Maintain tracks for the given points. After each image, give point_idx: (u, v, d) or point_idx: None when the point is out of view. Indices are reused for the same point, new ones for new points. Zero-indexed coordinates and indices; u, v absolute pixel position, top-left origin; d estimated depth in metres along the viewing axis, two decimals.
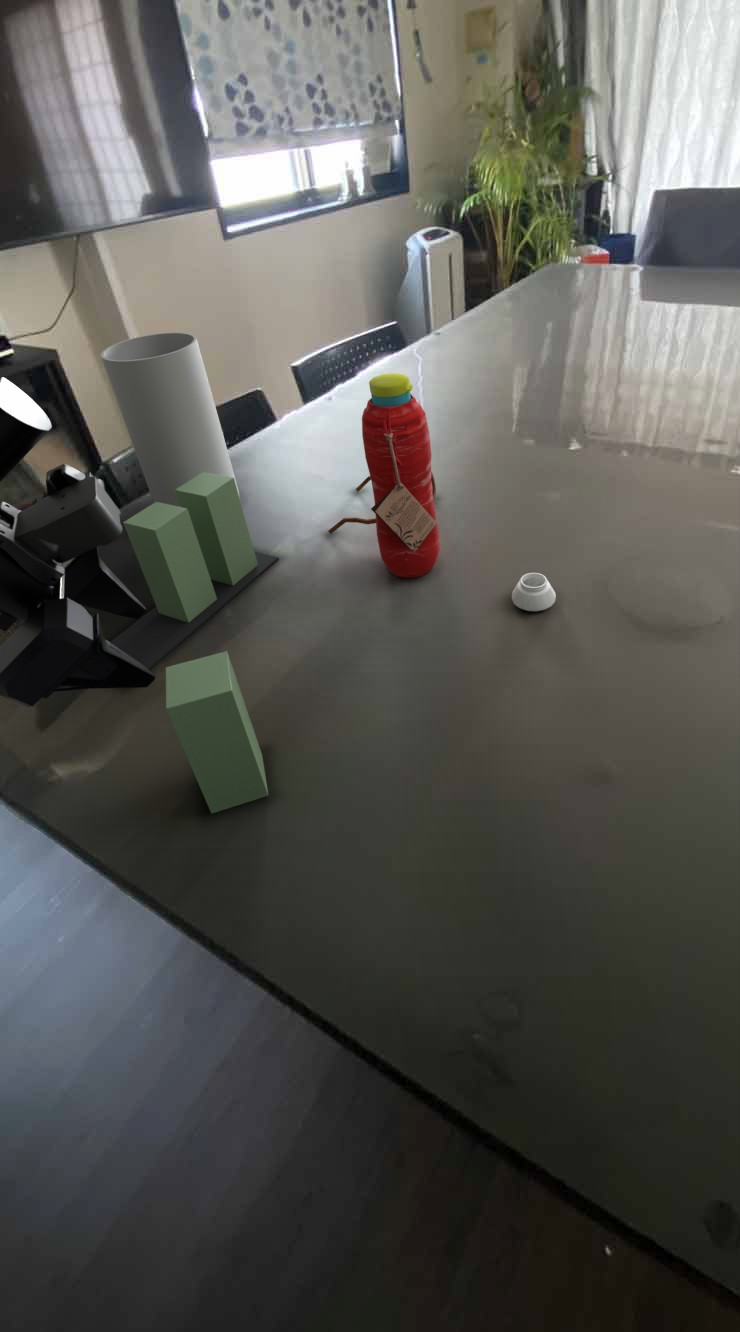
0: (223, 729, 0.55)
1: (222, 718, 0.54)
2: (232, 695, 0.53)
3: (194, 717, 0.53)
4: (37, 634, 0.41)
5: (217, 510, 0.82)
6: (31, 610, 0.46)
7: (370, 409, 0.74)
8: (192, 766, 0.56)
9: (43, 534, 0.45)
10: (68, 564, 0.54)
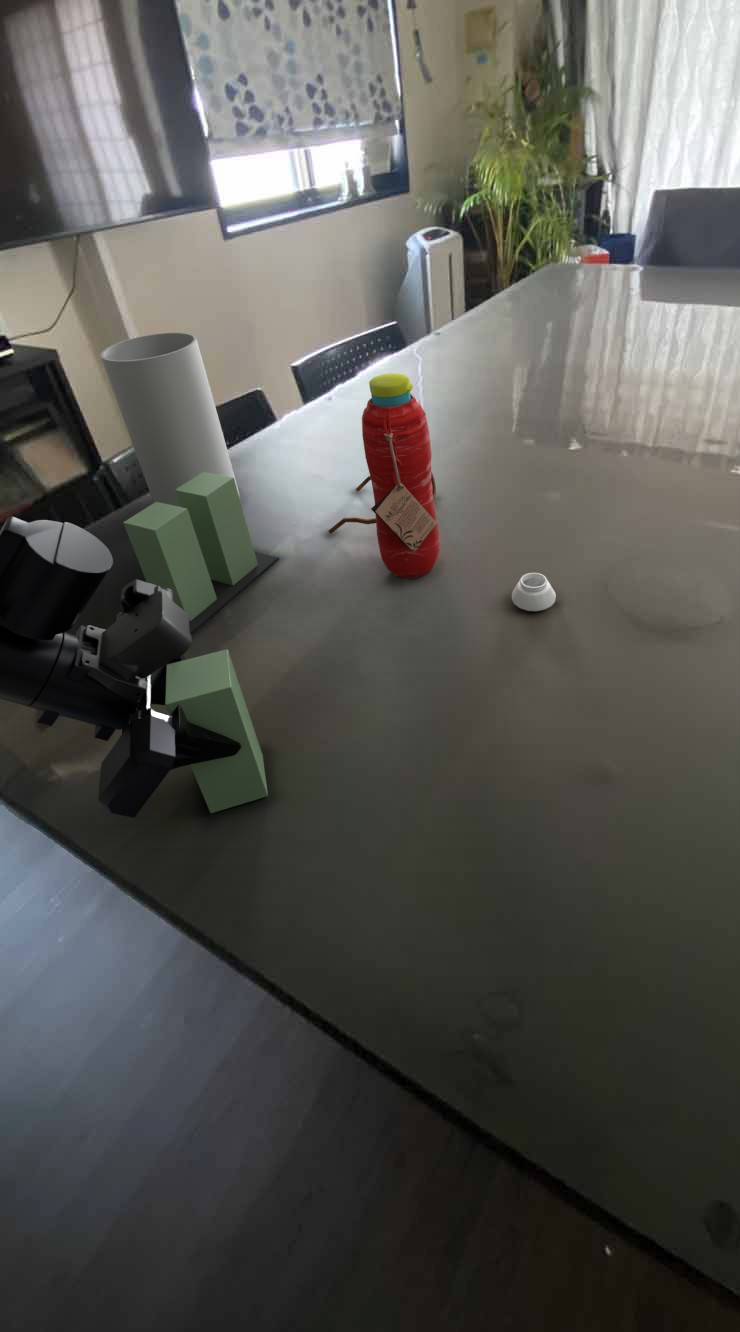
0: (222, 727, 0.55)
1: (221, 715, 0.54)
2: (231, 692, 0.53)
3: (193, 714, 0.53)
4: (126, 759, 0.45)
5: (217, 510, 0.82)
6: (124, 723, 0.50)
7: (370, 409, 0.74)
8: (191, 764, 0.56)
9: (122, 658, 0.48)
10: (158, 673, 0.57)
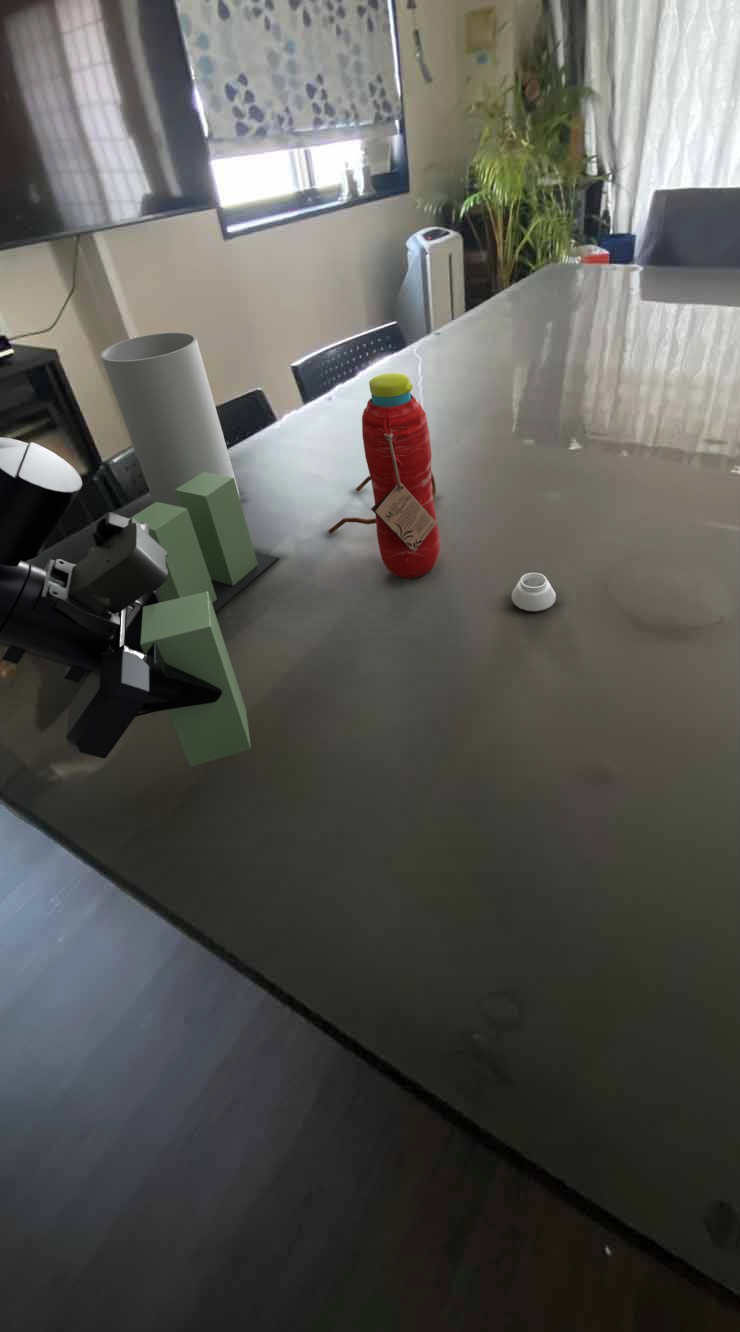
0: (202, 671, 0.52)
1: (201, 657, 0.51)
2: (211, 632, 0.50)
3: (170, 655, 0.50)
4: (95, 693, 0.42)
5: (217, 510, 0.82)
6: (96, 662, 0.47)
7: (370, 409, 0.74)
8: (169, 711, 0.53)
9: (92, 590, 0.45)
10: (134, 617, 0.54)
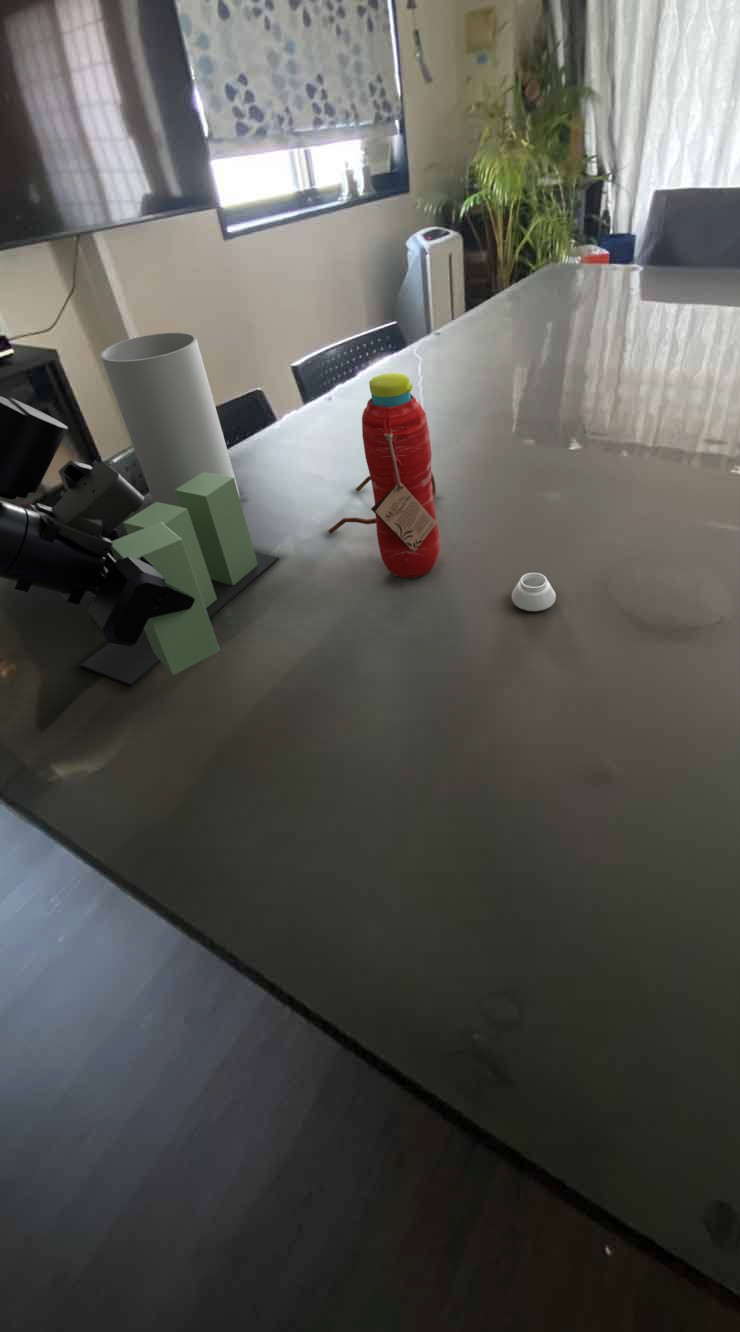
0: (177, 581, 0.62)
1: (176, 569, 0.61)
2: (182, 544, 0.61)
3: None
4: (124, 584, 0.52)
5: (217, 510, 0.82)
6: (96, 579, 0.56)
7: (370, 409, 0.74)
8: (153, 623, 0.62)
9: (88, 514, 0.54)
10: None
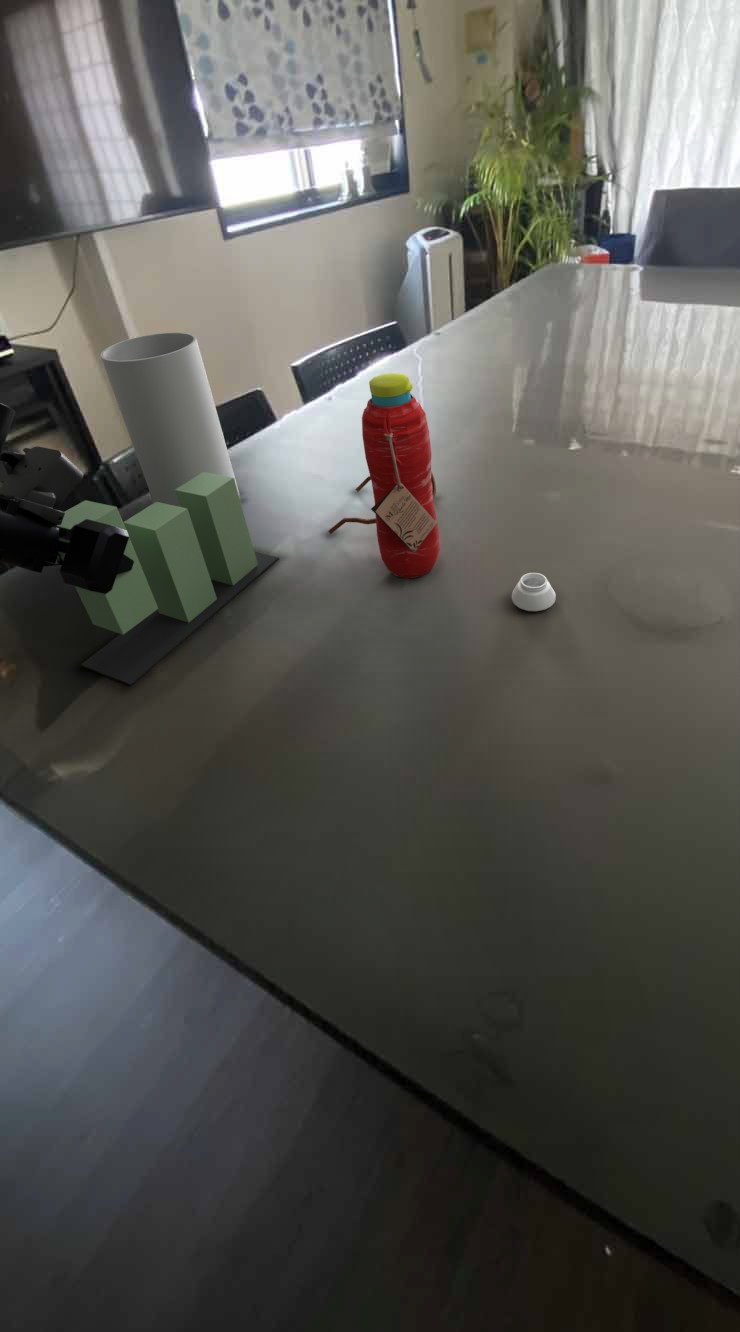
0: None
1: None
2: None
3: None
4: (96, 537, 0.61)
5: (217, 510, 0.82)
6: (56, 546, 0.63)
7: (370, 409, 0.74)
8: None
9: (42, 488, 0.62)
10: None
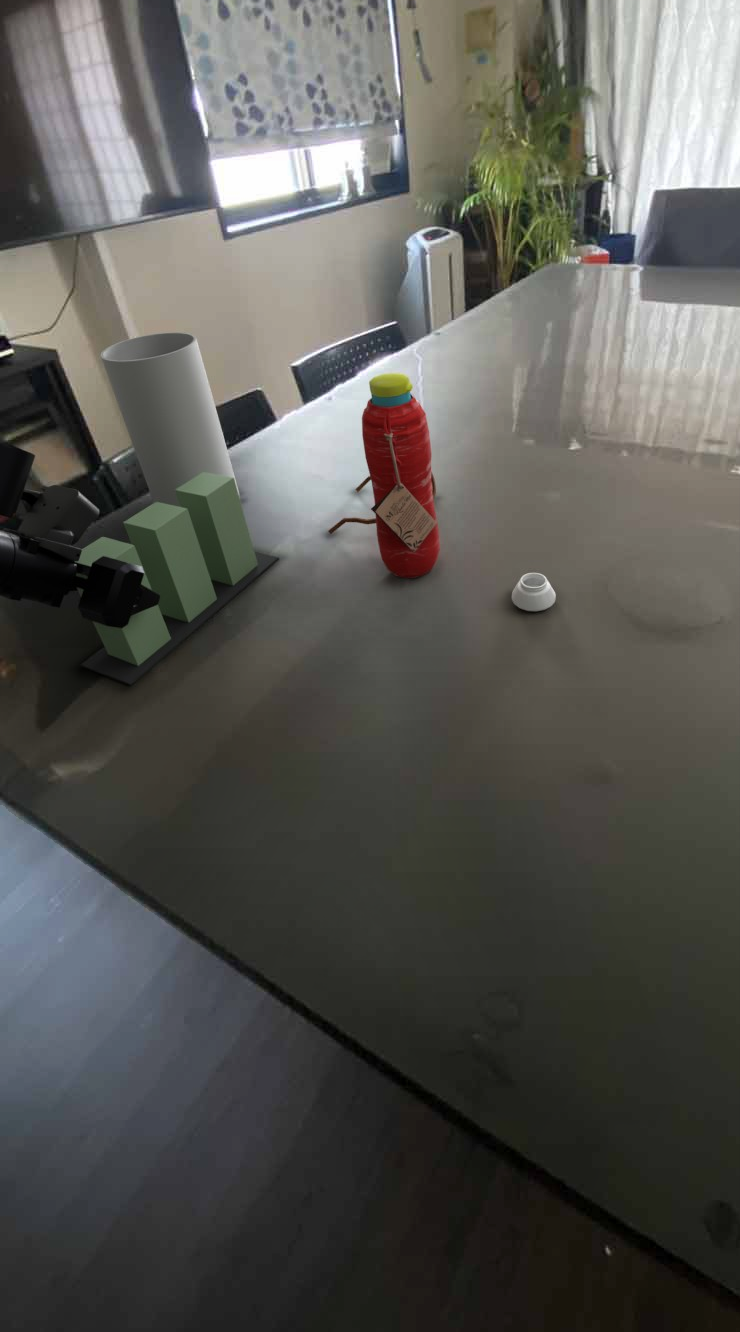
0: None
1: None
2: (135, 549, 0.72)
3: None
4: (113, 575, 0.63)
5: (217, 510, 0.82)
6: (74, 582, 0.66)
7: (370, 409, 0.74)
8: None
9: (60, 527, 0.64)
10: None
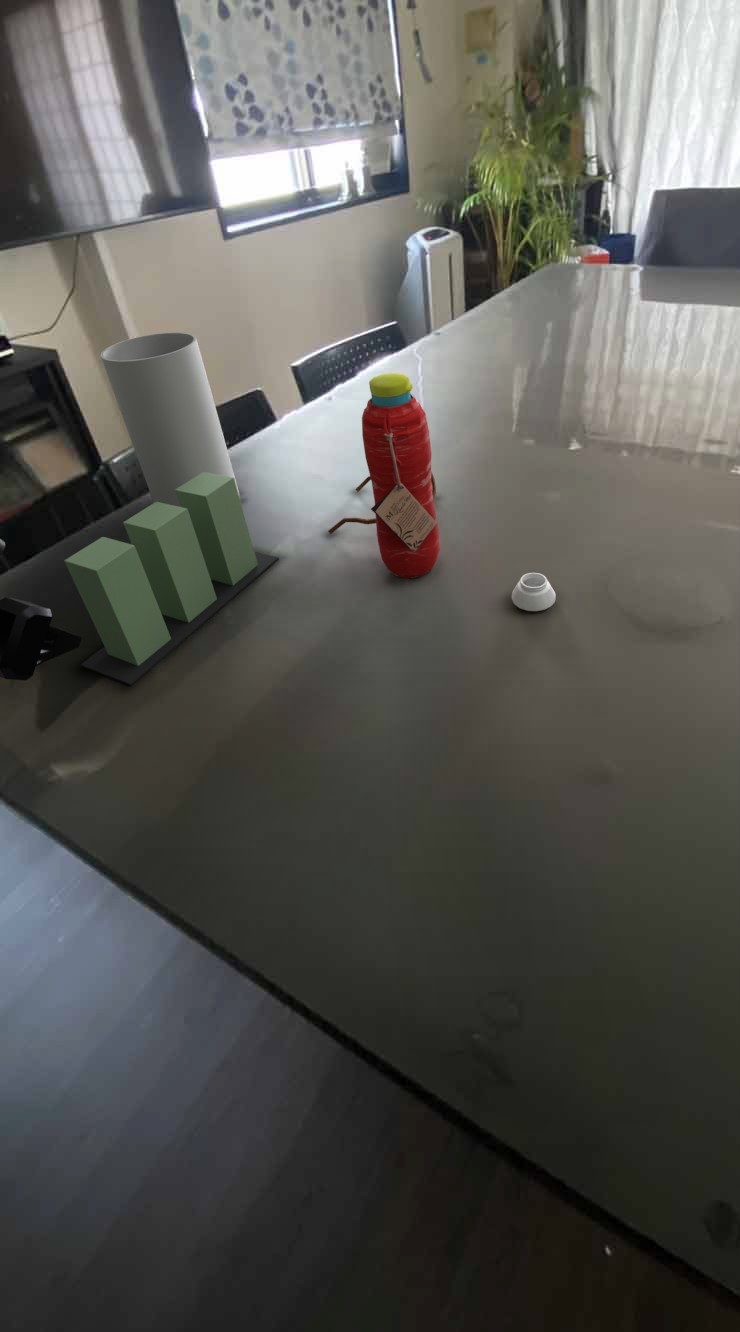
0: (134, 582, 0.73)
1: (132, 571, 0.72)
2: (135, 549, 0.72)
3: (115, 575, 0.70)
4: (13, 620, 0.55)
5: (217, 510, 0.82)
6: None
7: (370, 409, 0.74)
8: (120, 622, 0.72)
9: None
10: None
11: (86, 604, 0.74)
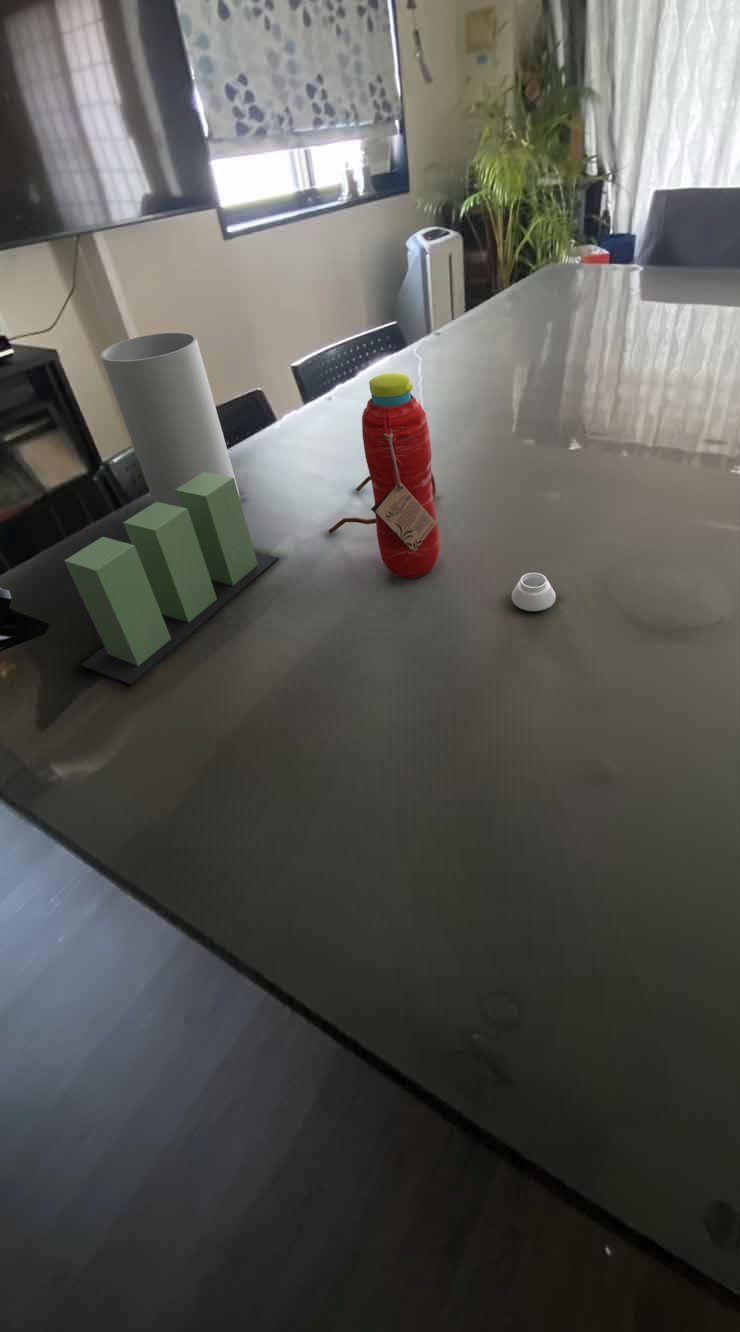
0: (134, 582, 0.73)
1: (132, 571, 0.72)
2: (135, 549, 0.72)
3: (115, 575, 0.70)
4: None
5: (217, 510, 0.82)
6: None
7: (370, 409, 0.74)
8: (120, 622, 0.72)
9: None
10: None
11: (86, 604, 0.74)
